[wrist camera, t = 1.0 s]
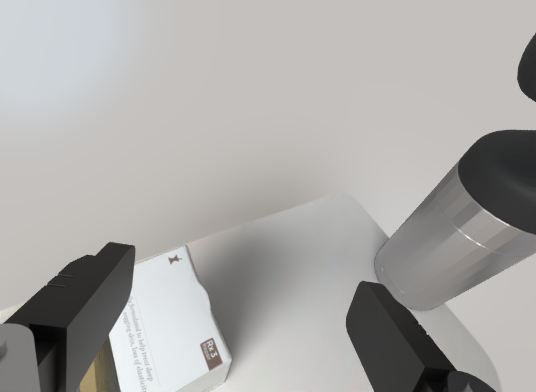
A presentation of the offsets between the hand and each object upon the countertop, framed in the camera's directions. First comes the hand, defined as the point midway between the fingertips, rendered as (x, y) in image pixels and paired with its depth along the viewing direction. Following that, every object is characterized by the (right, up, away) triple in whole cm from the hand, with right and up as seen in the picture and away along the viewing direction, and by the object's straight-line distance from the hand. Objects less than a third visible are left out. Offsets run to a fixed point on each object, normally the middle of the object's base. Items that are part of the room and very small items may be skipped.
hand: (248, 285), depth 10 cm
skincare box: (-7, -13, +18) cm, 23 cm away
